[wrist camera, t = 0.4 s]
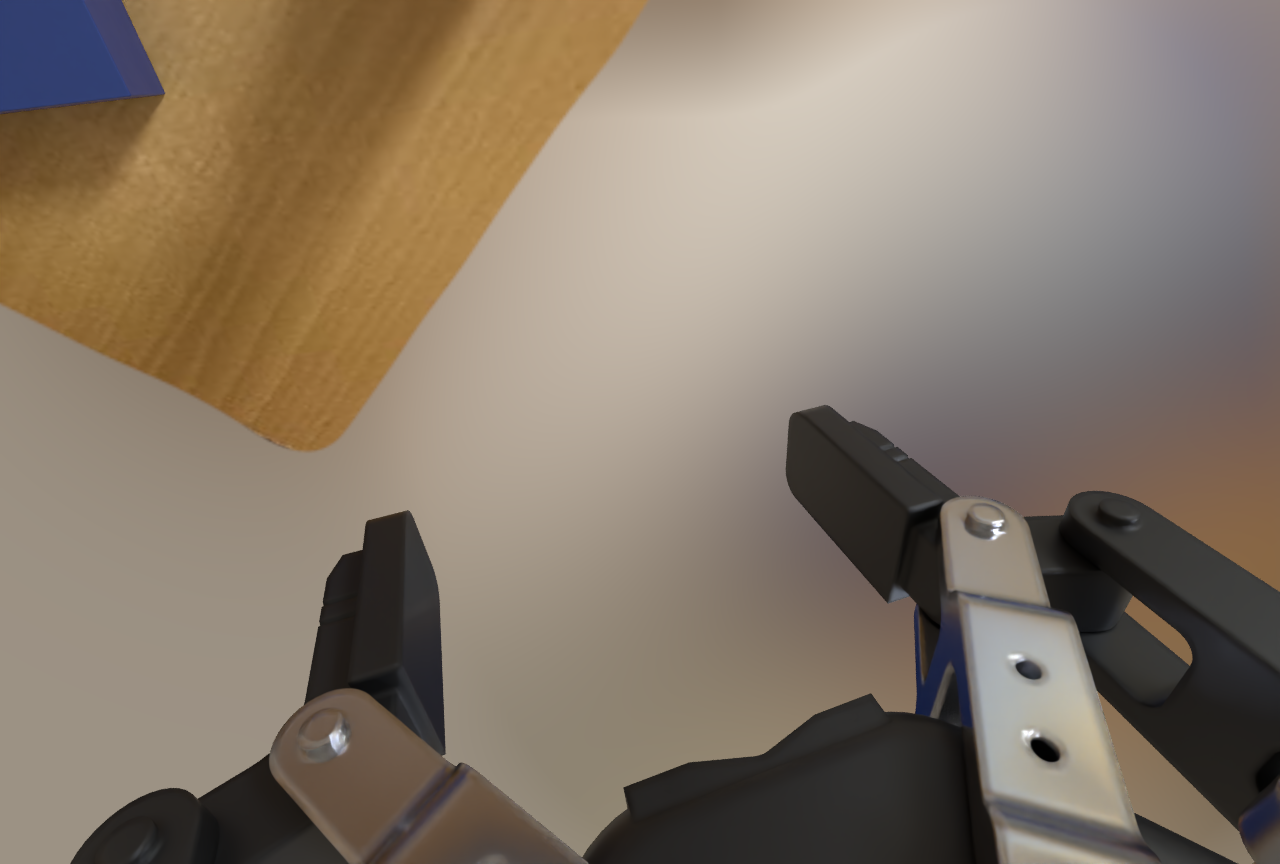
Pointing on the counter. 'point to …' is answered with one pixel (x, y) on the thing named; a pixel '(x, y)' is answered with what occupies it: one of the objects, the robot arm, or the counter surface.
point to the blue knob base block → (70, 55)
